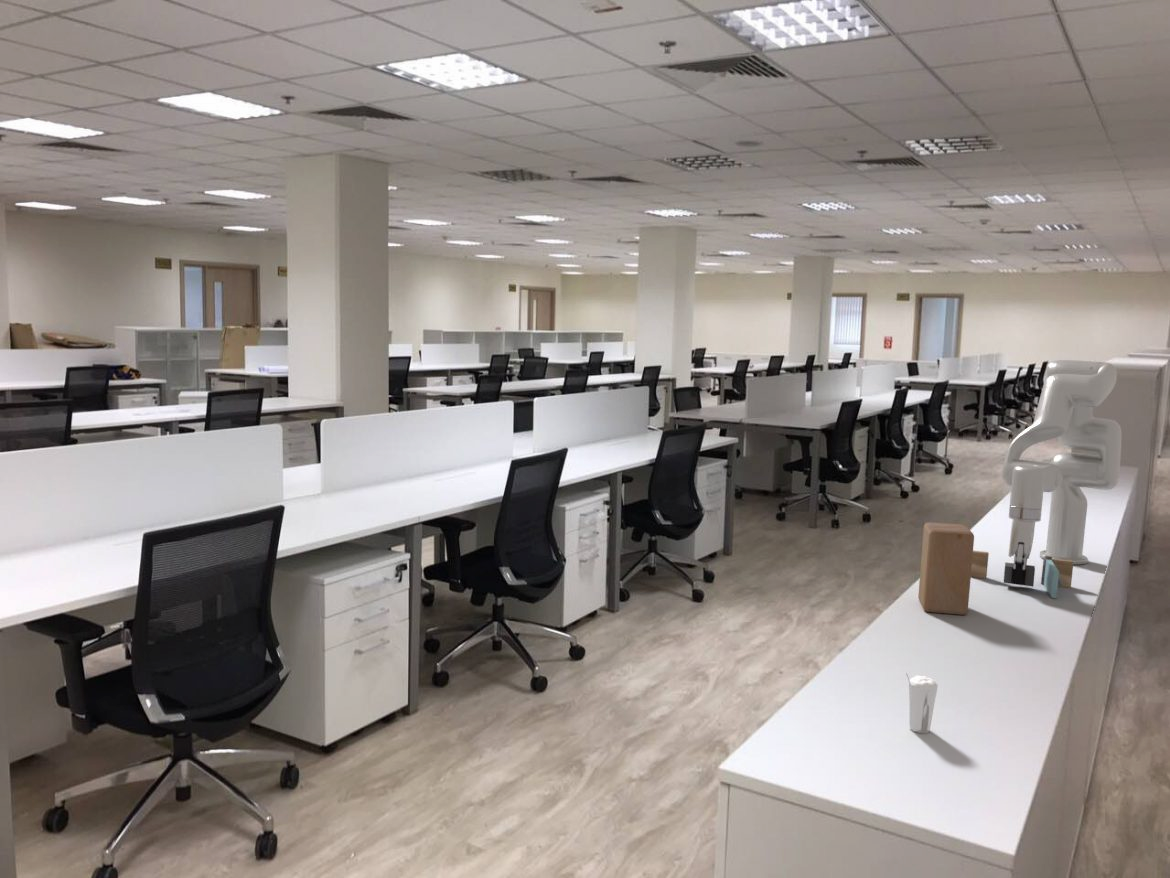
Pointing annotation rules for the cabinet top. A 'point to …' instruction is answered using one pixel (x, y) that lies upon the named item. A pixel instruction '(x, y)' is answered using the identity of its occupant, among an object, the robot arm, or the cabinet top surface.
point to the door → (1052, 578)
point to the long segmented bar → (1062, 565)
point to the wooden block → (946, 568)
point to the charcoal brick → (1028, 579)
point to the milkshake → (921, 702)
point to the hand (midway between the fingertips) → (1018, 581)
